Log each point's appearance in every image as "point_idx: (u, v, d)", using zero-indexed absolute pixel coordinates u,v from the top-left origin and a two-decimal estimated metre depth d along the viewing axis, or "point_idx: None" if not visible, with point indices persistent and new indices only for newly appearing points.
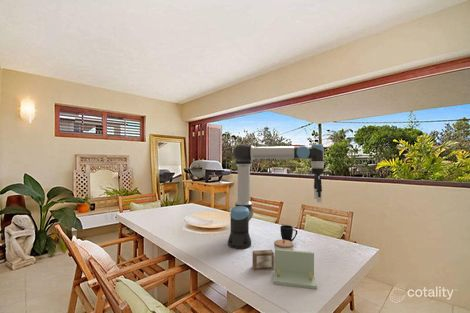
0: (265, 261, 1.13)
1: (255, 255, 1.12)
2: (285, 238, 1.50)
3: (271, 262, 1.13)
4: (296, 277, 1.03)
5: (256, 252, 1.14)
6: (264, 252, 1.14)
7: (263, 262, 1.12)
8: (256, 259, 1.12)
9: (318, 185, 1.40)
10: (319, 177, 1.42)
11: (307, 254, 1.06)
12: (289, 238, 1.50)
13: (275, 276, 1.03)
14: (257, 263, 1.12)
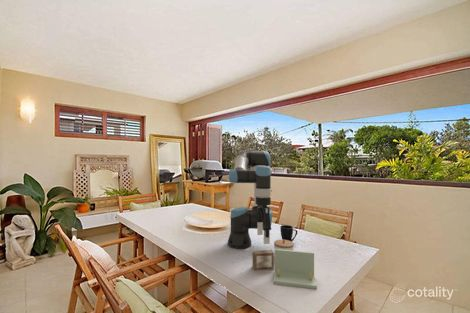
0: (265, 261, 1.13)
1: (255, 255, 1.12)
2: (285, 238, 1.50)
3: (271, 262, 1.13)
4: (296, 277, 1.03)
5: (256, 252, 1.14)
6: (264, 252, 1.14)
7: (263, 262, 1.12)
8: (256, 259, 1.12)
9: (266, 222, 1.06)
10: (267, 210, 1.08)
11: (307, 254, 1.06)
12: (289, 238, 1.50)
13: (275, 276, 1.03)
14: (257, 263, 1.12)
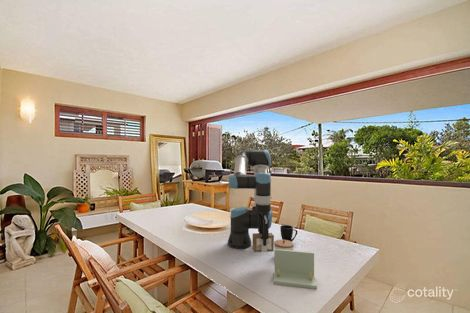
0: None
1: (255, 237, 1.13)
2: (285, 238, 1.50)
3: (271, 244, 1.14)
4: (296, 277, 1.03)
5: (256, 235, 1.15)
6: None
7: None
8: (256, 242, 1.13)
9: (264, 232, 1.09)
10: (266, 222, 1.09)
11: (307, 254, 1.06)
12: (289, 238, 1.50)
13: (275, 276, 1.03)
14: (257, 245, 1.13)
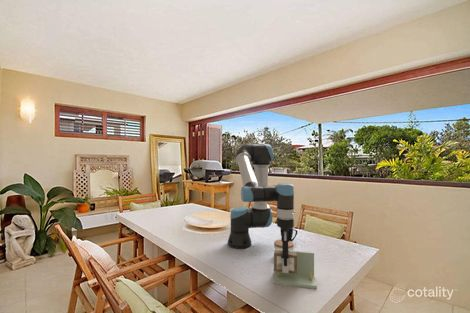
0: None
1: (275, 255, 1.02)
2: None
3: (294, 265, 1.00)
4: (296, 277, 1.03)
5: (277, 252, 1.04)
6: None
7: None
8: (276, 259, 1.02)
9: (283, 250, 0.98)
10: (285, 239, 0.97)
11: (307, 254, 1.06)
12: (289, 238, 1.50)
13: (275, 276, 1.03)
14: (277, 264, 1.02)
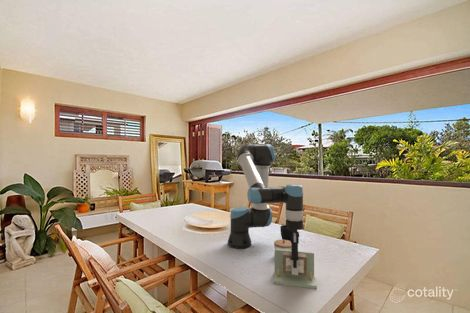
0: None
1: (284, 256, 1.01)
2: (285, 238, 1.50)
3: (303, 267, 0.99)
4: (296, 277, 1.03)
5: (286, 253, 1.02)
6: None
7: None
8: (285, 261, 1.01)
9: (293, 252, 0.97)
10: (295, 240, 0.96)
11: (307, 254, 1.06)
12: (289, 238, 1.50)
13: (275, 276, 1.03)
14: (286, 266, 1.01)
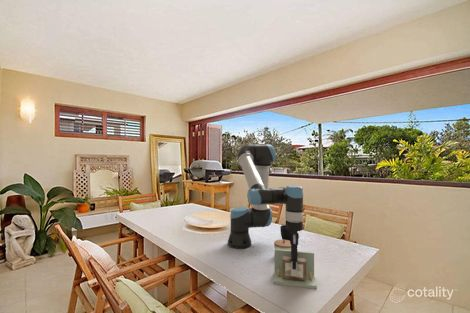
0: None
1: (284, 261, 1.01)
2: (285, 238, 1.50)
3: (303, 272, 0.99)
4: None
5: (286, 258, 1.02)
6: None
7: None
8: (284, 266, 1.01)
9: (293, 253, 0.96)
10: (295, 242, 0.96)
11: (307, 254, 1.06)
12: (289, 238, 1.50)
13: (275, 276, 1.03)
14: (286, 271, 1.00)
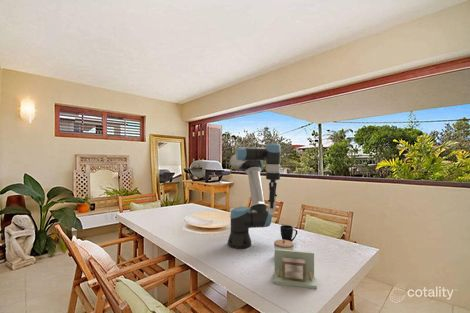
0: (295, 271, 1.00)
1: (283, 263, 1.01)
2: (285, 238, 1.50)
3: (302, 274, 0.99)
4: None
5: (285, 260, 1.02)
6: (295, 261, 1.01)
7: (292, 272, 1.00)
8: (284, 268, 1.01)
9: (270, 194, 1.15)
10: (272, 184, 1.17)
11: (307, 254, 1.06)
12: (289, 238, 1.50)
13: (275, 276, 1.03)
14: (286, 272, 1.01)
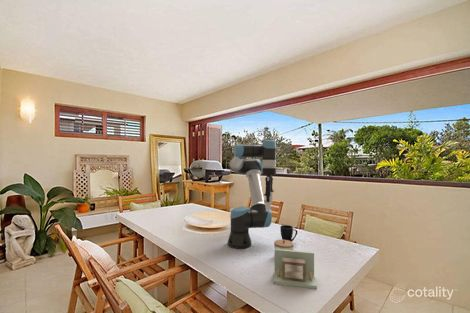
0: (295, 271, 1.00)
1: (283, 263, 1.01)
2: (285, 238, 1.50)
3: (302, 274, 0.99)
4: None
5: (285, 260, 1.02)
6: (295, 261, 1.01)
7: (292, 272, 1.00)
8: (284, 268, 1.01)
9: (266, 188, 1.19)
10: (268, 178, 1.21)
11: (307, 254, 1.06)
12: (289, 238, 1.50)
13: (275, 276, 1.03)
14: (286, 272, 1.01)
